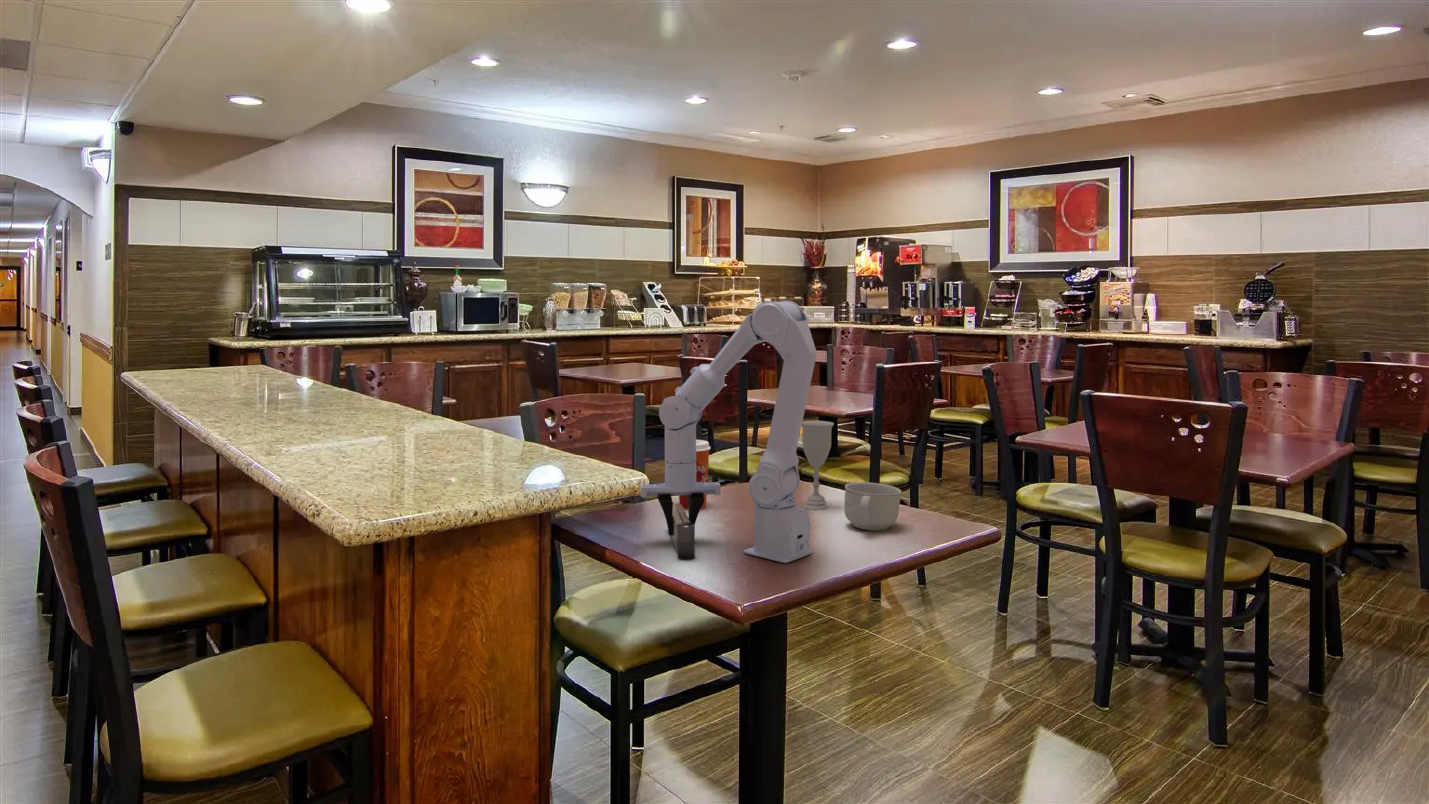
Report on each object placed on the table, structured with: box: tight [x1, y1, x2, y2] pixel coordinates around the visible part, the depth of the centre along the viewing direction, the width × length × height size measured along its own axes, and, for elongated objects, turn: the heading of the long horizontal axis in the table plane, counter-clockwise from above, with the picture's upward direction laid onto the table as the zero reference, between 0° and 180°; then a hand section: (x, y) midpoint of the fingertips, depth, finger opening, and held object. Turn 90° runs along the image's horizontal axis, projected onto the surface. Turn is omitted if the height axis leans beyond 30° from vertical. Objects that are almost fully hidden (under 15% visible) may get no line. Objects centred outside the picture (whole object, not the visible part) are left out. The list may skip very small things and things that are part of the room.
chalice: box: [801, 420, 835, 511], centre depth 192 cm, size 7×7×18 cm
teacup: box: [844, 481, 902, 532], centre depth 175 cm, size 14×11×8 cm
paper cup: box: [678, 439, 711, 511], centre depth 193 cm, size 8×8×14 cm
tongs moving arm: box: [670, 501, 683, 554], centre depth 167 cm, size 17×1×5 cm, turn 8°
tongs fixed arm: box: [674, 503, 696, 561], centre depth 166 cm, size 20×3×6 cm, turn 9°
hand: (680, 533), depth 167 cm, fingers open, 3 cm apart
